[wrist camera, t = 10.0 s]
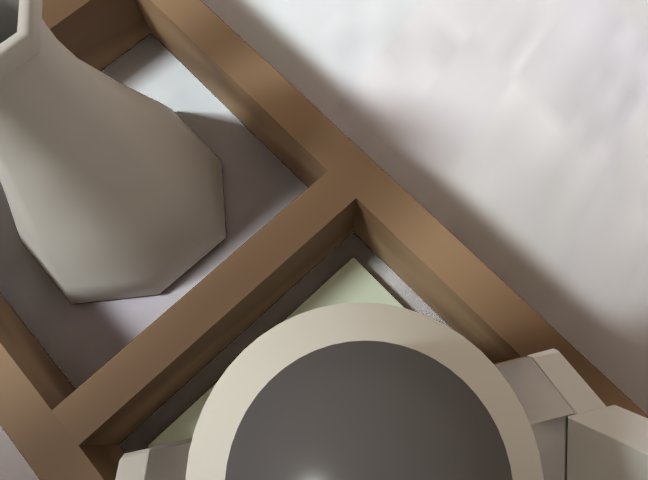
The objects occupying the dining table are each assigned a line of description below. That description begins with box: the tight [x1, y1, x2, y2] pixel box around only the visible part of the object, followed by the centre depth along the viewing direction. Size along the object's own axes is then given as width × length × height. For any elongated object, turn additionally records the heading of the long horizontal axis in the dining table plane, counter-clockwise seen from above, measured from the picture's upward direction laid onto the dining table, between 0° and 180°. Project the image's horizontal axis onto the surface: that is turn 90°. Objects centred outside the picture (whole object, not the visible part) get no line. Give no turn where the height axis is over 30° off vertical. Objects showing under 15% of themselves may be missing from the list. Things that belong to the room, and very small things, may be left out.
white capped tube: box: [186, 302, 544, 480], centre depth 12 cm, size 4×4×12 cm
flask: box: [0, 0, 226, 304], centre depth 16 cm, size 7×7×10 cm
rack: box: [0, 0, 648, 480], centre depth 18 cm, size 24×12×3 cm, turn 43°
